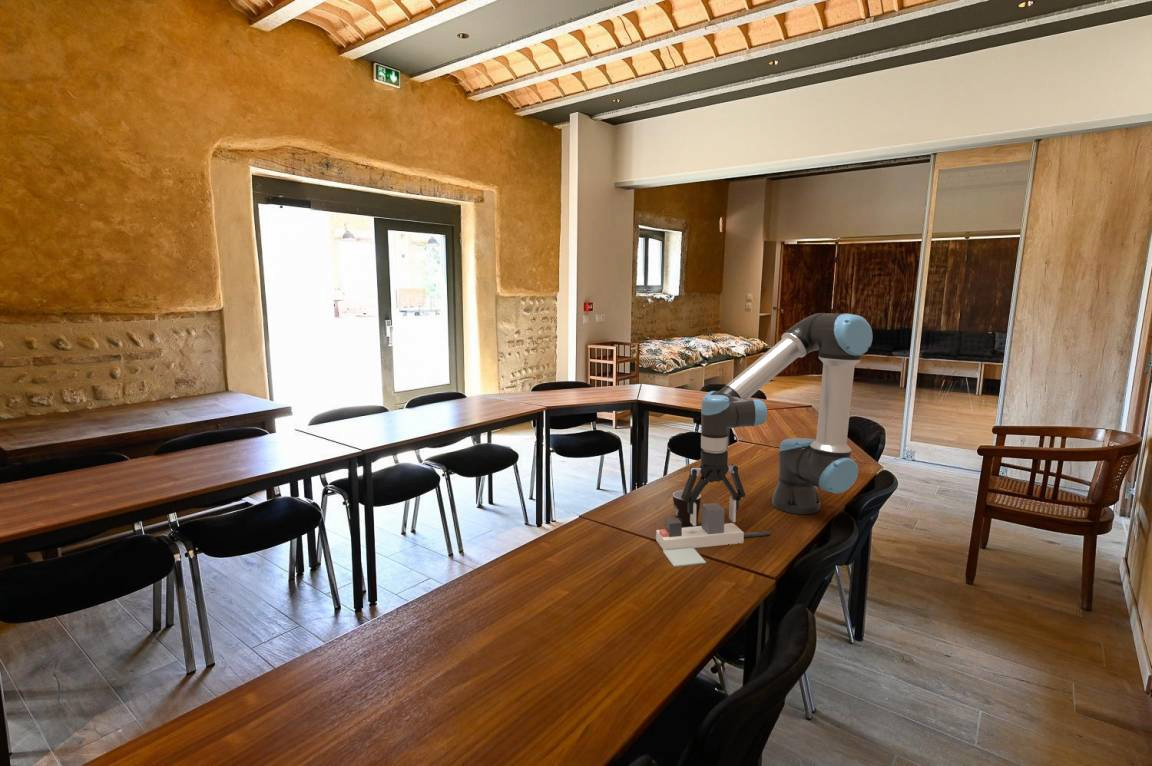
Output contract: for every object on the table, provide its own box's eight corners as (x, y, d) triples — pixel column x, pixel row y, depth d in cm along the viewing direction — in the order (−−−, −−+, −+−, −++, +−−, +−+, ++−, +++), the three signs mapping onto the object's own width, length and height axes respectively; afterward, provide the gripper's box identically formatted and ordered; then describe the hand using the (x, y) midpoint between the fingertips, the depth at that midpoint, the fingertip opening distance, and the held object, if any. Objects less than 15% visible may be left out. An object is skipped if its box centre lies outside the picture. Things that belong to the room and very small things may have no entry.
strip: (763, 530, 172) (764, 507, 171) (775, 539, 165) (776, 516, 164) (656, 540, 166) (656, 517, 165) (664, 551, 159) (664, 526, 158)
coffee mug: (700, 532, 171) (701, 500, 170) (672, 530, 173) (672, 499, 171) (700, 517, 182) (700, 487, 181) (673, 515, 184) (673, 486, 183)
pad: (693, 548, 160) (693, 547, 160) (705, 563, 152) (705, 562, 152) (662, 552, 159) (662, 550, 159) (673, 567, 150) (673, 565, 150)
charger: (716, 536, 168) (717, 502, 167) (723, 543, 164) (724, 508, 162) (701, 537, 167) (702, 504, 166) (708, 544, 163) (708, 510, 161)
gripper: (747, 443, 167) (744, 513, 170) (670, 448, 163) (669, 520, 166) (759, 450, 159) (757, 523, 163) (679, 456, 155) (678, 531, 159)
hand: (712, 522), depth 165 cm, fingers open, 11 cm apart
